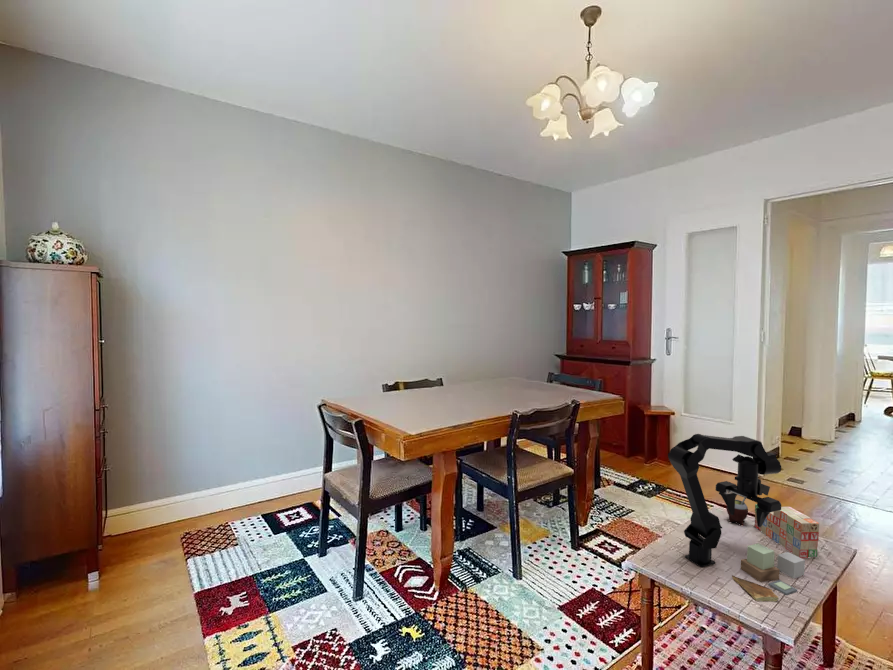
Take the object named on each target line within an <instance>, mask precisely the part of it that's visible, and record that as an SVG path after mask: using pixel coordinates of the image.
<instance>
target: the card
mask: <svg viewBox="0 0 893 670" xmlns="http://www.w3.org/2000/svg"><path fill="white" fill-rule="evenodd" d="M768 586H769V587H770V588H772V589H774V590H776V591H778V592H780V593H781V594H783V595H784V596H788V595H791V594H794V593H797V592H798V589H797V588H795V587H793V586H792V585H790V584H788V583H786V582H785V581H782V580H781V579H778V580H773V581H772V582H771V581H770V582H769V583H768Z"/></svg>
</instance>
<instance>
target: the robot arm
mask: <svg viewBox="0 0 893 670" xmlns="http://www.w3.org/2000/svg"><path fill="white" fill-rule="evenodd" d="M762 443H763V442H762V441H760V440H756V439H755V438H750V437H748V436H745V435H737V436H733V437H721V436H715V435H706V434H705V435H704V434H701V433H695V434H693V435H692V436H691V437H689V438H687V439H685V440H682V441H680V442H678V443H677V444H676V445H675V446H673V447H672V448H671V449H669V452H668V454H667V456H668V457H667V458H668V461H669V462H670V464H671V466H672V467H673V468H674V469H675V471H676V472H677V473H678V474H679V477H680V478H681V483H682V485H683V489H684V490H685V495H686V497H687V500H688V502H689V507H690V508H691V511H692V513H691V516H690V524H688V526H687V527H686V528H685V529H684V530H683V533H684V535H685V537H686V538H688V539H689V544H688V545H689V547H688V553H687V554H685V555H684V558H686V559H687V560H689V561H690V562H692V563H693V564H696V566H699V567H700V568H703V567H707V566H711V565H714V564H716V561H715V560H713V559H712V552H713V549H717V547H718V544H719V541H720V539H721V535H722V529H723V527H722V526H721V522H720V519H719V516H718V515H715V514H714V513H712V512H711V511H709V507H708V504H707V502H706V498H705V495H704V492H703V489H702V487H701V484H700V483H701V482H700V479H699V477H698V471H699V468H700V463H701V462H702V461H703V460H704V458H705V455H706V453H707V451H708V450H709V449H710V450H718V451H719V450H720V451H727V452H735V453H736V452H737V453H739V454H737V455H736V456H735V457H733V458H732V461H733V462H735V463H737V474H736V476H734V480H735V481H736V483H733V482H730V481H728V480H724V481H721V482H720V481H719V482H717V483H716V484H715V491H716V492H718V495H720V496H721V498H722V500H723V501H724V503H725V505H726V507H728V509H729V512H730V514H731V515H734V512H735V500H736V499H737V496H739V497H742V498H743V499H744V498H746V499H747V500H749V501H752V502H755V503H756V504H757V506H758V507H759V508H756V514H757V525H758V527H761V526H762V524H763V522H764V521H765V519H766V517H767V516H768V514H769V513H770V512H774V511H778V510H781V507H782V503H781V501H780V500H778V499H776V498H772V497H770V496H769V492H770V489H771V486H769V485H767V484H764V483H762V480H761V478H759V475H761V476H762V475H774V474H776V475H777V474H779V473H780V472H781V471H782V465H781V462H780V461H779V459H778V458H777V454H775V453H773V452H767V451H766V450H765V448H764V445H763V444H762ZM695 448H696V450H695V451H690V450H692V449H695ZM743 455H744V456H743ZM763 494H764V495H765V496H766V497H760V496H762V495H763Z"/></svg>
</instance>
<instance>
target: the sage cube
mask: <svg viewBox="0 0 893 670" xmlns="http://www.w3.org/2000/svg"><path fill="white" fill-rule="evenodd" d="M775 551H776V550H773V549H771V548H770V547H767V546H765V545H763V544H761V543H754V544H750V545H747V551H746V559H747V562H749V563H751V564H753V565H755V566H756V567H758V568H760V569H762V570H765V569H768V568H771V567H774V566H775Z"/></svg>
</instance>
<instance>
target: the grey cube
mask: <svg viewBox="0 0 893 670" xmlns="http://www.w3.org/2000/svg"><path fill="white" fill-rule="evenodd" d="M776 558H777V560H776V568H778V569H779V573H780V572H781V573H782V574H784V575H786V576H788V577H789V578H791V579H797V578H800V577H803V576H805V567H806V566H805V564H806V560H805V558H800V557H798V556H796V555H794V554H793V553H791V552H790V551H786V552H783V553H779V554H777V557H776ZM802 575H803V576H802Z"/></svg>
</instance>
